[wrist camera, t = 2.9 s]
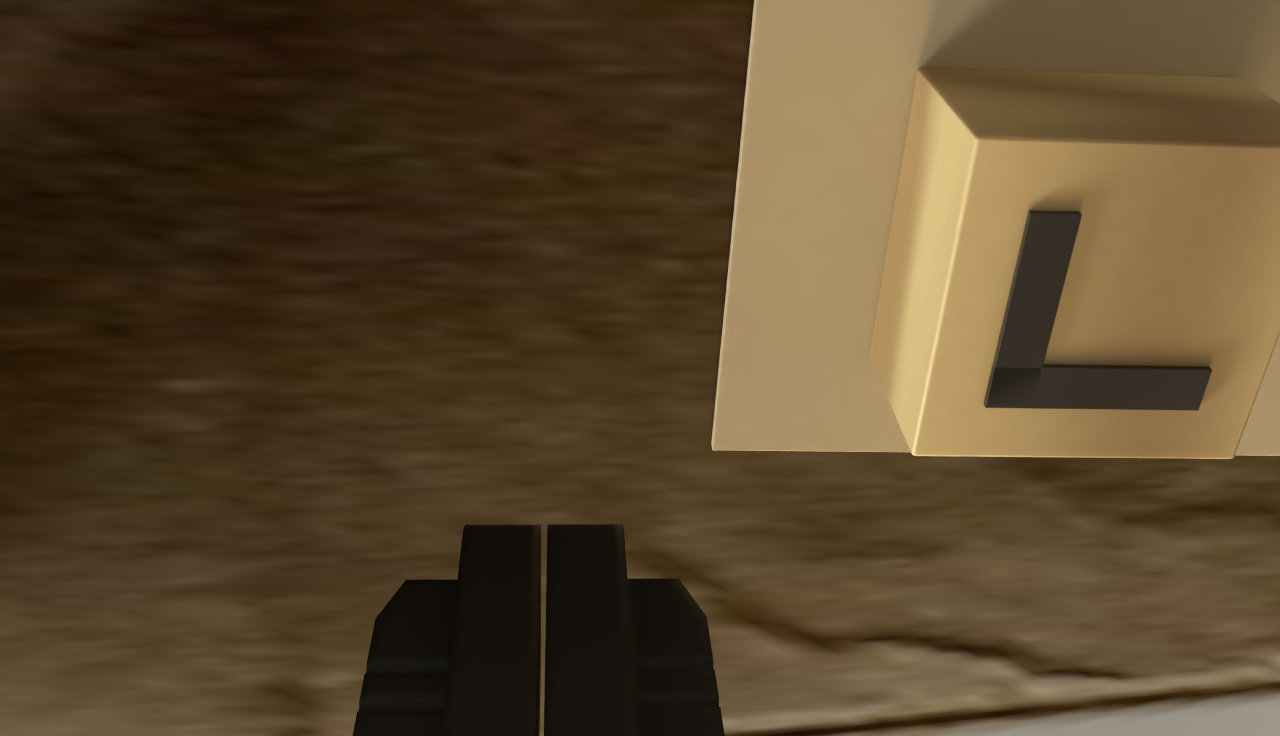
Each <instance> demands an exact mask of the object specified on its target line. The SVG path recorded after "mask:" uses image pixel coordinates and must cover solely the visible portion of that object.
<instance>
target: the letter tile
mask: <svg viewBox="0 0 1280 736" xmlns="http://www.w3.org/2000/svg"><path fill="white" fill-rule="evenodd" d="M1279 335H1280V103H1278V102H1276V101H1275V100H1273V99H1272V98H1270V97H1269V96H1267V95H1265V94H1264V93H1262V92H1261V91H1259V90H1257V89H1256V88H1254V87H1253V86H1251V85H1250V84H1248V83H1246V82H1245V81H1243V80H1242V79H1240V78H1238V77H1208V76H1177V75H1147V74H1117V73H1087V72H1057V71H1027V70H996V69H966V68H936V67H921V68H919V69H918V71H917V76H916V81H915V87H914V93H913V99H912V105H911V111H910V117H909V123H908V128H907V134H906V140H905V146H904V152H903V158H902V164H901V170H900V175H899V181H898V187H897V193H896V199H895V205H894V211H893V216H892V222H891V228H890V234H889V240H888V246H887V252H886V258H885V263H884V269H883V275H882V281H881V287H880V293H879V299H878V304H877V310H876V316H875V322H874V328H873V334H872V340H871V346H870V351H869V356H870V359H871V361H872V363H873V365H874V368H875V370H876V372H877V375H878V377H879V379H880V382H881V384H882V386H883V389H884V391H885V393H886V396H887V398H888V400H889V402H890V405H891V407H892V409H893V412H894V414H895V416H896V419H897V421H898V423H899V426H900V428H901V430H902V433H903V435H904V437H905V439H906V442H907V444H908V446H909V449H910V451H911V453H912V455H915V456H989V457H1094V458H1199V459H1231V458H1233V457H1234V456H1235V453H1236V451H1237V448H1238V445H1239V443H1240V440H1241V437H1242V434H1243V432H1244V429H1245V426H1246V424H1247V421H1248V418H1249V416H1250V413H1251V410H1252V407H1253V405H1254V402H1255V399H1256V397H1257V394H1258V391H1259V389H1260V386H1261V383H1262V380H1263V378H1264V375H1265V372H1266V370H1267V367H1268V364H1269V362H1270V359H1271V356H1272V353H1273V351H1274V348H1275V345H1276V343H1277V340H1278V337H1279Z"/></svg>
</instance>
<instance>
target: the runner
mask: <svg viewBox="0 0 1280 736" xmlns="http://www.w3.org/2000/svg"><path fill="white" fill-rule="evenodd" d="M921 67H936V68H966V69H996V70H1027V71H1057V72H1087V73H1117V74H1147V75H1177V76H1208V77H1238V78H1240V79H1242V80H1243V81H1245V82H1246V83H1248V84H1250V85H1251V86H1253V87H1254V88H1256V89H1257V90H1259V91H1261V92H1262V93H1264V94H1265V95H1267V96H1269V97H1270V98H1272V99H1273V100H1275V101H1276V102H1278V103H1280V0H754V8H753V19H752V29H751V39H750V50H749V60H748V70H747V81H746V91H745V102H744V112H743V122H742V133H741V143H740V153H739V164H738V174H737V184H736V195H735V205H734V216H733V226H732V236H731V247H730V257H729V267H728V278H727V288H726V298H725V309H724V319H723V330H722V340H721V350H720V361H719V371H718V381H717V392H716V402H715V412H714V423H713V433H712V449H713V450H748V451H851V452H911V451H910V449H909V446H908V444H907V442H906V439H905V437H904V435H903V433H902V430H901V428H900V426H899V423H898V421H897V419H896V416H895V414H894V412H893V409H892V407H891V405H890V402H889V400H888V398H887V396H886V393H885V391H884V389H883V386H882V384H881V382H880V379H879V377H878V375H877V372H876V370H875V368H874V365H873V363H872V361H871V359H870V356H869V351H870V346H871V340H872V334H873V328H874V322H875V316H876V310H877V304H878V299H879V293H880V287H881V281H882V275H883V269H884V263H885V258H886V252H887V246H888V240H889V234H890V228H891V222H892V216H893V211H894V205H895V199H896V193H897V187H898V181H899V175H900V170H901V164H902V158H903V152H904V146H905V140H906V134H907V128H908V123H909V117H910V111H911V105H912V99H913V93H914V87H915V81H916V76H917V71H918V69H919V68H921ZM1235 455H1261V456H1280V335H1279V337H1278V340H1277V343H1276V345H1275V348H1274V351H1273V353H1272V356H1271V359H1270V362H1269V364H1268V367H1267V370H1266V372H1265V375H1264V378H1263V380H1262V383H1261V386H1260V389H1259V391H1258V394H1257V397H1256V399H1255V402H1254V405H1253V407H1252V410H1251V413H1250V416H1249V418H1248V421H1247V424H1246V426H1245V429H1244V432H1243V434H1242V437H1241V440H1240V443H1239V445H1238V448H1237V451H1236V453H1235Z"/></svg>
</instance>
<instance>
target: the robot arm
mask: <svg viewBox="0 0 1280 736" xmlns="http://www.w3.org/2000/svg"><path fill="white" fill-rule="evenodd" d="M540 671H541V525H465V526H464V530H463V537H462V545H461V554H460V563H459V572H458V580H406V581H405V582H404V583H403V584H402V586H401V587H400V588H399V590H398V591H397V592H396V593H395V595H394V596H393V597H392V599H391V600H390V601H389V602H388V604H387V605H386V606H385V607H384V609H383V610H382V611H381V613H380V614H379V615H378V616H377V618H376V619H375V624H374V629H373V635H372V640H371V645H370V650H369V655H368V660H367V672H366V673H365V675H364V681H363V686H362V691H361V696H360V701H359V711H357V716H356V721H355V727H354V732H353V736H539V730H540ZM544 736H725V735H724V729H723V722H722V715H721V709H720V707H719V696H718V689H717V682H716V676H715V670H713V656H712V649H711V643H710V636H709V630H708V623H707V617H706V615H705V614H704V613H703V611H702V610H701V608H700V607H699V606H698V604H697V603H696V602H695V600H694V599H693V598H692V596H691V595H690V593H689V592H688V591H687V589H686V588H685V587H684V585H683V584H682V583H681V581H680V580H679V579H627V567H626V553H625V539H624V528H623V525H548V530H547V588H546V647H545V706H544Z"/></svg>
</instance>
